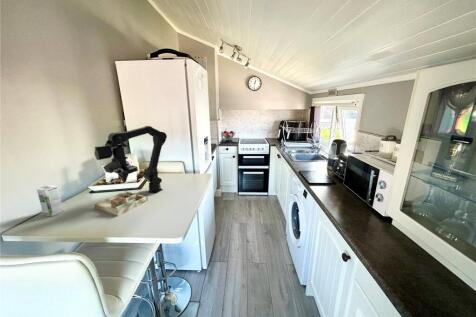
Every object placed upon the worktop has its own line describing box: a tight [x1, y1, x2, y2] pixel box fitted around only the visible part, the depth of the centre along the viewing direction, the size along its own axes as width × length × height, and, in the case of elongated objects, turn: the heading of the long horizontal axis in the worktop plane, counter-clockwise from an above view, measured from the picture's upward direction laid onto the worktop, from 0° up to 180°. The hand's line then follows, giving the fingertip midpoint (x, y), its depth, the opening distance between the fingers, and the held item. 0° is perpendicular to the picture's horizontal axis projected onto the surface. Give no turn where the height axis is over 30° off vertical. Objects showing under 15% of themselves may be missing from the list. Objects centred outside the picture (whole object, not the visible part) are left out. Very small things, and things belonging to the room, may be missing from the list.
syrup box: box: [36, 184, 64, 217], centre depth 96 cm, size 6×6×14 cm
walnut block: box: [110, 197, 126, 209], centre depth 100 cm, size 5×5×4 cm
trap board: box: [94, 190, 149, 217], centre depth 107 cm, size 18×19×4 cm
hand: (124, 182), depth 108 cm, fingers closed
